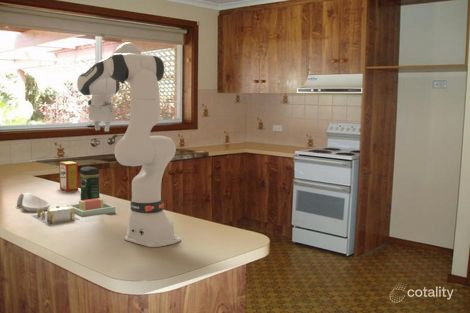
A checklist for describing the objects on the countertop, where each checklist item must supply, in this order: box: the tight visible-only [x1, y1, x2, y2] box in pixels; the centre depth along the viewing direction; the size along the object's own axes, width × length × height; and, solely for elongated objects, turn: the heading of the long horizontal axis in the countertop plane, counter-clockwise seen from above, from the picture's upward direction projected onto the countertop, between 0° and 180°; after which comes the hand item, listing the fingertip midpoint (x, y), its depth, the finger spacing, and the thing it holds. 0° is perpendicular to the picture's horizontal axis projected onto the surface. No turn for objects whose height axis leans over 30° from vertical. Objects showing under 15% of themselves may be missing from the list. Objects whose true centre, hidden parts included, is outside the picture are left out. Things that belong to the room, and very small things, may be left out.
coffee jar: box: [79, 165, 100, 201], centre depth 238 cm, size 10×8×19 cm
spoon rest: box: [16, 192, 51, 213], centre depth 224 cm, size 24×12×7 cm, turn 46°
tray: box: [66, 201, 116, 217], centre depth 220 cm, size 16×16×3 cm
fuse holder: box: [31, 205, 81, 226], centre depth 206 cm, size 19×14×6 cm
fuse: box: [78, 198, 104, 211], centre depth 220 cm, size 4×10×5 cm, turn 132°
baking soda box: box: [58, 160, 79, 192], centre depth 272 cm, size 10×6×16 cm
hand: (102, 130), depth 229 cm, fingers open, 8 cm apart
